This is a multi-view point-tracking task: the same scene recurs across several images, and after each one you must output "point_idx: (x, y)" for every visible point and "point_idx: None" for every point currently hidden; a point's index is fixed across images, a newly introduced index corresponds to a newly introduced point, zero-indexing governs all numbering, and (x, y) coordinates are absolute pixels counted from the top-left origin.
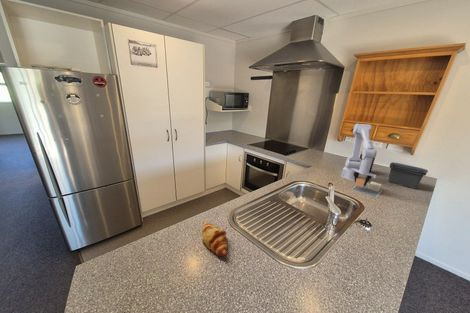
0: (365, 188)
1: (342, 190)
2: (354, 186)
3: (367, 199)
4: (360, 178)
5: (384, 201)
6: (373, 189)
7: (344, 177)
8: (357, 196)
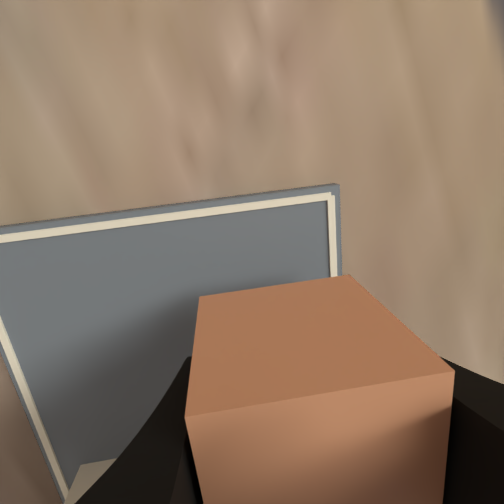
0: None
1: (419, 27)
2: None
3: (14, 73)
4: (360, 475)
5: None
6: None
7: None
8: (164, 26)
